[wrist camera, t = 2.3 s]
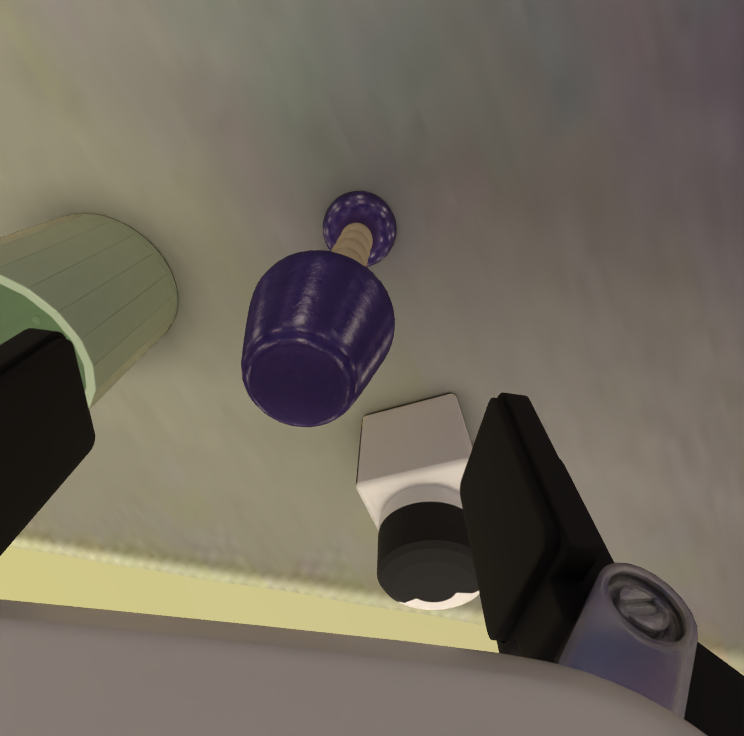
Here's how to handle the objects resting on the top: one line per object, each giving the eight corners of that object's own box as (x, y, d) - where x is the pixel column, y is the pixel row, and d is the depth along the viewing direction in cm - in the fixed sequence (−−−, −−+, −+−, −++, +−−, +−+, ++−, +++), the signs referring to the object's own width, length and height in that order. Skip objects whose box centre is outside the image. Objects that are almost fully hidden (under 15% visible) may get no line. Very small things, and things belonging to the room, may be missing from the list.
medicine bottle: (360, 415, 32) (346, 560, 22) (454, 390, 31) (486, 534, 20) (390, 480, 35) (390, 633, 25) (476, 461, 34) (513, 614, 24)
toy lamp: (320, 269, 26) (237, 462, 12) (306, 187, 24) (181, 309, 10) (399, 261, 26) (409, 453, 12) (392, 178, 23) (394, 290, 9)
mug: (119, 189, 24) (-11, 229, 16) (204, 320, 28) (133, 403, 21) (-35, 264, 27) (-209, 329, 19) (63, 374, 31) (-47, 465, 23)
